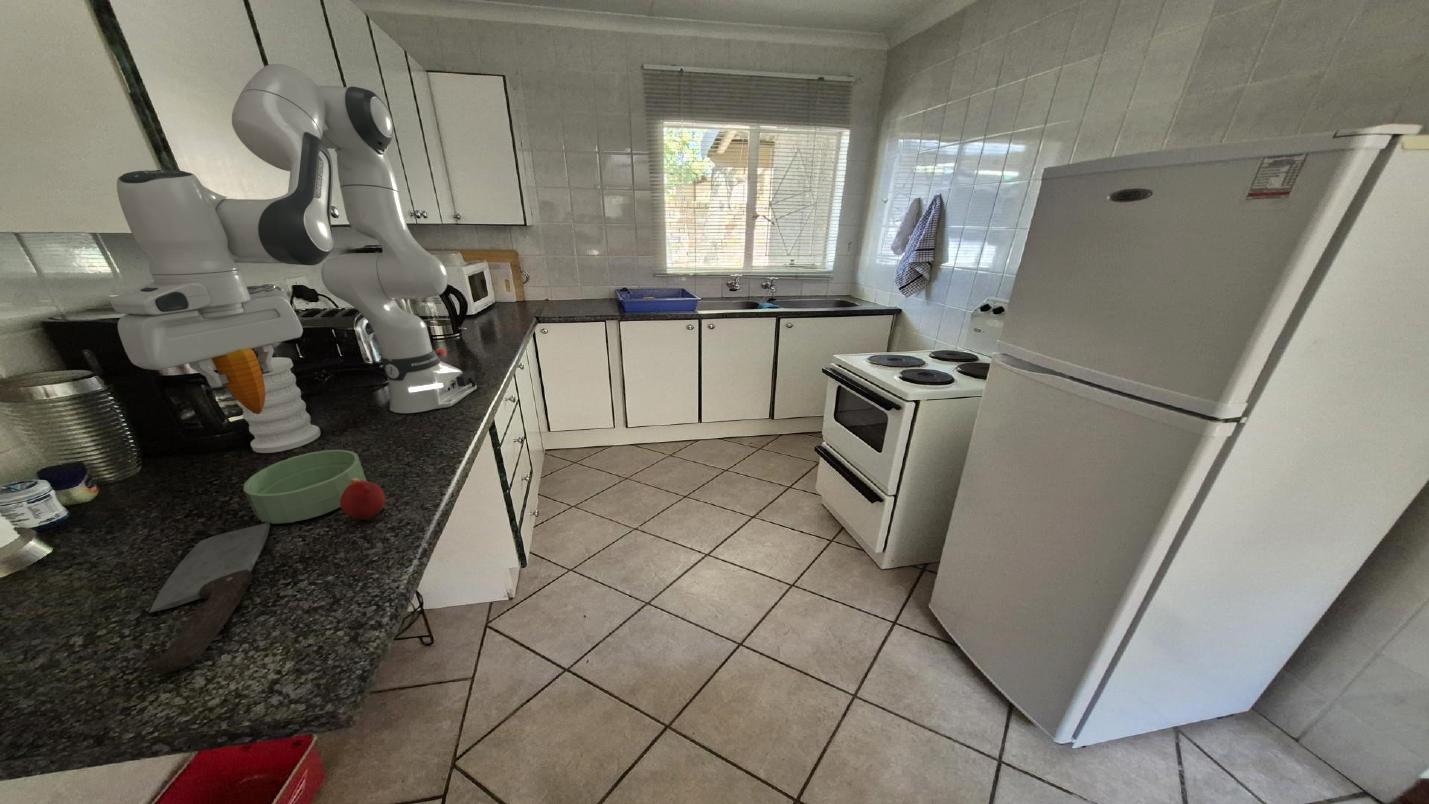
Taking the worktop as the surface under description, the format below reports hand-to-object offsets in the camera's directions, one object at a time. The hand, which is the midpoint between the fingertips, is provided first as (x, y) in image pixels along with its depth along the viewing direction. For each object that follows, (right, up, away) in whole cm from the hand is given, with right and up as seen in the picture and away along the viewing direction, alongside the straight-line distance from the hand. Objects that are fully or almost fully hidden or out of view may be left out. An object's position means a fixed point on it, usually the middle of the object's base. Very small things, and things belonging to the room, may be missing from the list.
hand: (243, 379), depth 72 cm
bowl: (+4, -21, +9) cm, 23 cm away
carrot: (0, -6, +2) cm, 6 cm away
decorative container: (-21, -13, +29) cm, 38 cm away
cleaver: (+7, -30, -11) cm, 33 cm away
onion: (+18, -24, +4) cm, 30 cm away
